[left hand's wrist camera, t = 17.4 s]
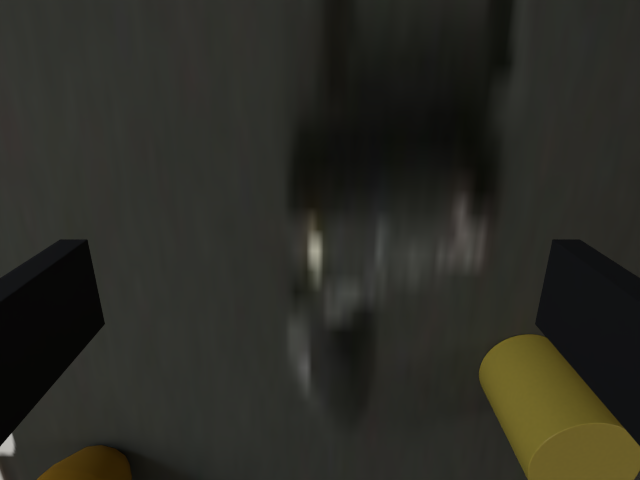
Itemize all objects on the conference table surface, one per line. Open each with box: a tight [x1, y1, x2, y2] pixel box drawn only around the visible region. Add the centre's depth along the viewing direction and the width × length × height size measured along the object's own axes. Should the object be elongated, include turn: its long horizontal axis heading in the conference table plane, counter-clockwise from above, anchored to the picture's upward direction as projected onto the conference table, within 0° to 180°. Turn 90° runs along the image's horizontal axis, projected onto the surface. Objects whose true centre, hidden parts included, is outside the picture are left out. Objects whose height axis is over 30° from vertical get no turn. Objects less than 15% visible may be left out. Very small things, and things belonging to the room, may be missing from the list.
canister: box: [479, 334, 640, 480], centre depth 41 cm, size 9×9×12 cm
